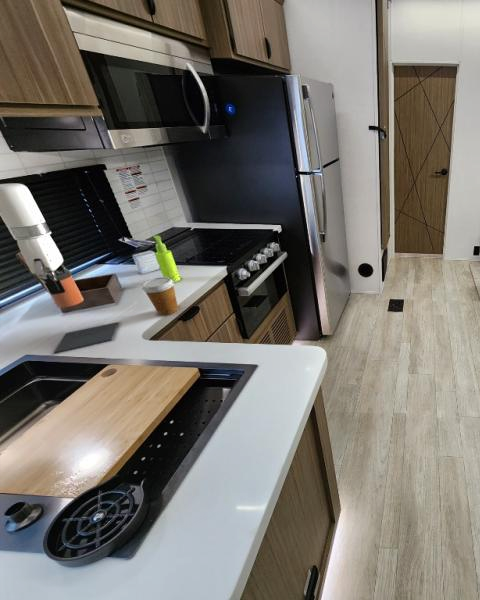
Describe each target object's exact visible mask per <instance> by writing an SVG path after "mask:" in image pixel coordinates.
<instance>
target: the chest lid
mask: <svg viewBox="0 0 480 600" xmlns="http://www.w3.org/2000/svg"><path fill="white" fill-rule="evenodd" d="M15 257H16V258H17V259H18V260H19V261H20V262H21V264H22V265H23V266H24V267H25V268H26V269H27V270H28V271H29V273H30V274H31V275H32V276H33V277H34V278H35V280H36V281H37V282H38V283H39V284H40V285H41V286H42V287H43V288H44V290H45V291H46V292H47V293H48V294H49V292H48V291H47V289H46V287H45V285H44V284H43V282H42V281H41V279H40V278H39V276H37V274H33V273H32V272H31V271H30V269H29V267H28V265H27V263H26V261H25V259H24V257H23V255H22V253H21V251H19V252H18V253H16V254H15ZM49 270H50V269H45V270H44V271H49Z"/></svg>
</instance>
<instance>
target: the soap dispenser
mask: <svg viewBox="0 0 480 600" xmlns="http://www.w3.org/2000/svg"><path fill="white" fill-rule="evenodd" d="M152 238H153V239H155V242H156V244H155V245H154V246H155V249H156V251H155V256H156V259H157V261H158V264H159V267H160V269H159V270H160V272H161V274H162V277H169V278H171V280H172V281H174V283H177V282H179V281H181V280H182V279H181V275H180V273H179V270H178V267H177V264H176V261H175V259H174V256H173V253H172V251H171V250H170V249H167V246H166V243H163V242H162V237H161V236H160V235H153V236H152Z"/></svg>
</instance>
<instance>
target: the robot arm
mask: <svg viewBox="0 0 480 600" xmlns="http://www.w3.org/2000/svg"><path fill="white" fill-rule="evenodd" d="M0 217H1V219H2V221H3V222H4V224H5V226H6V227H7V229H8V231H9V232H10V235H11V236H12V238H13V240H15V241H16V242H17V246H18V248H19V250H20V251H19V252H21V253H22V255H23V257H24V259H25V261H26V263H27V265H28V267H29V269H30V271H31V272H32V273H33V274H37V276H39V277H40V279H42V281H43V283H45V285H46V287H47V289H48V290H49V292H50V294H52V295H53V294H59V293H64V292H65V289H64V287H63V285H62V284H61V282H60V280H57V277H56V274H55V270H58V269H67V268H66V266H65V265H64V257H63V255H62V253H61V252H60V249H59V248H58V246H57V244H56V242H55V241H54V239H53V238H52V236H51V234H52V231H51V229H50V227H49V225H48V223H47V222H46V220H45V217H44V215H43V214H42V212H41V210H40V208H39V206H38V204H37V202H36V200H35V199H34V197H33V195H32V193H31V191H30V189H29V188H28V186H26V185H25V184H23V183H17V182H16V183H14V182H13V183H0ZM45 269H50V270H49V271H44V270H45ZM30 271H29V272H30ZM47 273H51V276H50V275H49V274H48V275H47ZM50 294H49V295H50Z"/></svg>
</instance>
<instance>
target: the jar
mask: <svg viewBox="0 0 480 600" xmlns="http://www.w3.org/2000/svg"><path fill="white" fill-rule="evenodd" d="M48 274H49V275H50V276H51V273H47V275H48ZM55 274H56V277H57V280H60V282H61V284H62V285H63V287H64V289H65V292H64V293H59V294H53V295H52V294H50V292H49V290H48V289H47V287H46V285H45V283H43V284H44V285H45V287H46V289H47V291H48V292H49V293H48V292H47V291H46V292H47V293H48V294H49V296H50V298H51V299H52V301H53V302H54V305H55V306H56V307H57V308H59V309H60V308H63V307H70V306H73V305H76V304H79V303H81V302H82V301H83V300H84V298H83V296H82V295H81V293H80V291H79V289H78V287H77V285H76V283H75V281H74V280H75V279H74V278H73V276H72V272H71V271H70V270H69V269H68V268H66V269H58V270H55ZM39 278H40V277H39ZM41 281H42V279H41ZM42 282H43V281H42Z"/></svg>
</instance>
